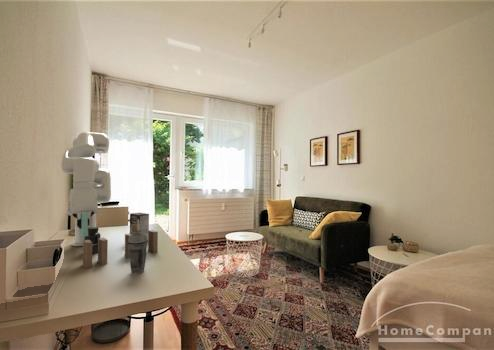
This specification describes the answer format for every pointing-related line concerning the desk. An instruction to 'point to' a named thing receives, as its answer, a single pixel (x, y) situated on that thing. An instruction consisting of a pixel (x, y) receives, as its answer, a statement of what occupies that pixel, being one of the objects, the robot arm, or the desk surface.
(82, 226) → the teal domino
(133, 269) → the beverage cup
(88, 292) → the desk surface
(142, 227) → the coffee box
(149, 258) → the desk surface
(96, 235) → the supplement bottle
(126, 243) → the domino
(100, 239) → the domino
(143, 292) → the desk surface
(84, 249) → the domino
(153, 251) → the domino
